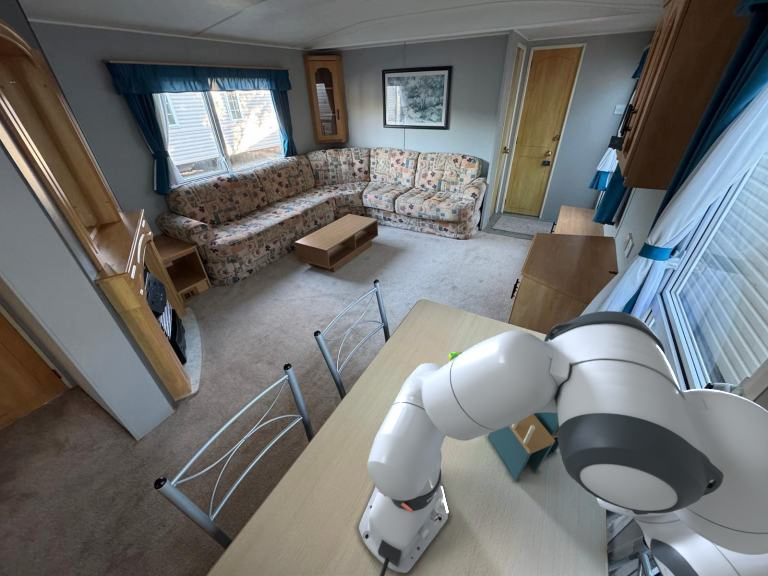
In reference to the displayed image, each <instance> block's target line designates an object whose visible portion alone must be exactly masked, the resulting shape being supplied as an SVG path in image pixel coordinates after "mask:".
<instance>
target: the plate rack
mask: <svg viewBox="0 0 768 576" xmlns="http://www.w3.org/2000/svg"><path fill="white" fill-rule="evenodd" d="M558 429H559V422H558V413H551V412H541V413H534V414H532V415H530V416H528V417H527V418H525V419H523V420H521V421H519V422H517V423H515V424H512V425H510V426H507V427H505V428H502V429H499V430H497V431H494V432H491V433H488V436H487V439H488V440H489V442H490V444H491V445H492V447H493V449H494V450H495V451H496V453H497V455H498V456H499V458H500V460H501V461H502V462H503V464H504V466H505V468H506V469H507V471H508V473H509V474H510V475H511V477H512V479H513V480H514V482H516V481H518V480H519V478H520V477H521V474H522V472H523V470H524V469H525V467H527V466H530V468H531V469H532V470H533V472H534V473H536V472H538V471H539V469H540V467H541V466H542V464H543V462H544V461H545V459H546V458H548V457H550V456H553V455H555V454H556V452H557V451H558V450H559V444H558V438H557V432H558Z"/></svg>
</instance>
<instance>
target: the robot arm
mask: <svg viewBox="0 0 768 576" xmlns="http://www.w3.org/2000/svg"><path fill="white" fill-rule="evenodd" d="M554 331H555V332H554ZM460 353H461V354H460V355H458V356H457V357H456V358H454V359H453V360H451V361H450V362H449V361H448V362H447V363H445V364H444V365H440V364H438V363H434V362H424V363H421V364H419V365H418V366H416V368H415V369H414V370H413V371H412V372H411V373H410V375H409V376H408V377H407V378H406V379H405V381H404V383H403V384H402V386H401V387H400V389H399V392H398V394H397V396H396V398H395V399H394V401H393V403H392V405H391V407H390V409H389V410H388V412H387V414H386V416H385V418H384V420H383V421H382V423H381V424H380V425H381V426H380V427H379V428H378V431H377V432H376V435H375V437H374V440H373V443H372V446H371V449H370V452H369V456H368V458H367V462H366V468H367V472H368V473H367V474H368V476H369V478H370V480H371V482H372V484H373V485H374V487H375V488H374V489H373V492H372V494H371V497H370V499H369V501H368V504H367V506H366V508H365V510H364V513H363V515H362V518H361V520H360V522H359V525H358V530H359V535H360V536H361V540H362V542H363V543H364V545H365V546H366V548H367V549H368V550H369V551H370V553H371V554H372V555H373V557H375V558H376V559H377V560H378V561H379V562H380V563H381V564H382V568H381V571H380V574H379V576H385V575H386V572H387V569H390V570H392V571H394V572H396V573H401V574H408V573H409V572H410V571H411V570H412V568H413V567H414V565H415V564H416V563H417V561H418V560H419V559H420V557H421V556H422V555H423V554H424V552H425V551H426V549H427V548H428V547H429V545H430V544H431V543H432V541H433V540H434V539H435V538H436V536H437V534H439V532H440V531H441V529H442V528H443V527H444V525H445V524H446V523H447V521H448V519H449V509H448V505H447V501H446V497H445V492H444V488H443V486H442V485H441V483H442V469H441V468H442V461H443V455H442V450H441V449H442V446H443V443H444V440H445V438H446V436H447V437H448V438H451V439H453V440H454V439H455V440H457V441H462V442H463V441H465V442H467V441H470V440H471V441H472V440H474V439H476V438H479V437H482V436H486V435H489V433H491V432H494V431H497V430H499V429H502V428H505V427H507V426H510V425H512V424H515V423H517V422H519V421H521V420H523V419H525V418H527V417H528V416H530V415H532V414H534V413H541V412H551V413H558V422H559V429H558V432H557V438H558V444H559V447H558V450H559V453H560V457H561V460H562V463H563V465H564V469H565V471H566V473H567V474H568V475H569V477H570V478H572V479H573V481H575V482H576V483H577V484H578V485H579V486H580V487H581V488H583V489H584V490H585V491H586V492H588V494H590V495H592V496H594V497H595V498H596V501H597V503H598V505H599V507H600V508H602V509H604V510H606V511H609V512H612V513H615V514H619V515H622V516H626V517H630V518H631V517H632V519H633V520H634V521H635V522H636V524H637V525H638V526H639V527H640V529H641V531H642V534H643V538H644V541H645V543H646V546H647V548H648V550H649V551H650V556H651V558H652V560H653V562H654V564H655V566H656V567H657V570H658V572H659V574H660V575H661V576H768V410H766V409H765V408H764V407H762V406H761V405H759V404H757V403H755V402H754V401H752V400H749V399H748V398H745V397H743V396H741V395H737V394H734V393H732V392H731V393H730V392H727V391H722V390H717V389H709V388H695V389H688V390H683V389H681V388H680V385H679V383H678V381H677V378H676V375H675V372H674V370H673V369H672V367H671V364H670V363H669V361H668V359H667V357H666V351H665V347H664V345H663V342H662V341H661V340H660V338H659V337H658V335H657V334H656V333H655V332H654V330H653V329H652V328H651V327H650V326H649V325H648V324H647V323H646V322H645V321H643V320H642V319H640V318H639V317H637V316H635V315H633V314H630V313H627V312H621V311H616V310H615V311H614V310H604V311H603V310H602V311H595V312H590V313H586V314H582V315H579V316H577V317H573V318H572V319H570V320H569V321H567V322H560V323H557V324H555V325H554V326H552V328H551V329H550V330H548V332H547V333H546V335H545V337H544V340H543V339H541V338H539V337H538V336H536V335H534V334H532V333H530V332H527V331H523V330H508V331H504V332H502V333H499V334H496V335H493V336H491V337H489V338H486V339H485V340H482V341H480V342H478V343H476V344H474V345H472V346H471V347H469V348H468V349H466V350H464V351H463V352H460ZM439 518H440V519H441V520H439ZM367 536H368V537H367ZM366 537H367V538H366Z"/></svg>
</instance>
